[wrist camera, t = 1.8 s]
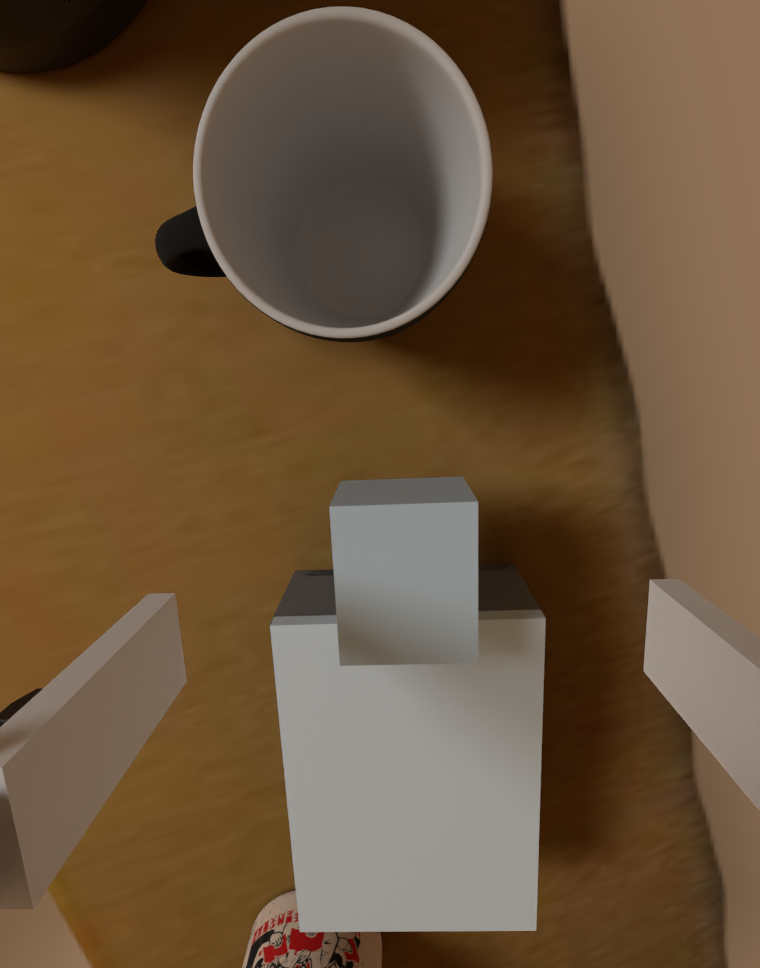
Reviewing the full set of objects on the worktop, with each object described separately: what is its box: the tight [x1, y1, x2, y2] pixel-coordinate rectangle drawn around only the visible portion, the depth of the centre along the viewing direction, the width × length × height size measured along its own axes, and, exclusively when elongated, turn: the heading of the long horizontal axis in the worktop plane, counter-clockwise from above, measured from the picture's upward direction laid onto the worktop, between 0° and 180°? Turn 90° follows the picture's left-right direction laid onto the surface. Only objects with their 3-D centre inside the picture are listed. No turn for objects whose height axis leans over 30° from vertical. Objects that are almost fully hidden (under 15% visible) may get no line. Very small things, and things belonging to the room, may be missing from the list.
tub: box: [270, 564, 545, 625], centre depth 28 cm, size 16×12×6 cm
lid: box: [270, 477, 546, 932], centre depth 22 cm, size 23×12×5 cm, turn 2°
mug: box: [155, 6, 493, 342], centre depth 20 cm, size 12×9×10 cm
